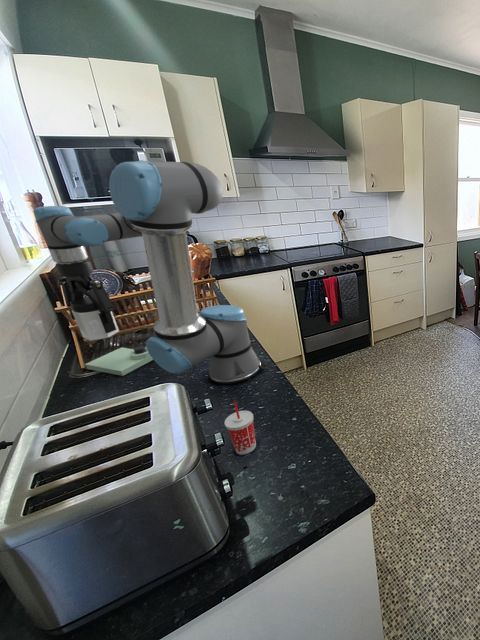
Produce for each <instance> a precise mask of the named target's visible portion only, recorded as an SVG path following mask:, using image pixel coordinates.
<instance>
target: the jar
mask: <svg viewBox="0 0 480 640" xmlns="http://www.w3.org/2000/svg"><path fill="white" fill-rule="evenodd" d="M70 305H71V307H70V308H71V309H72V310H71V313H72V315H73V318H74V320H75V321H76V325H77V327H78V329H79V331H80V334H81V336H82V338H84V339H85V340H87V341H97V340H102V339H103V340H104V339H108V338H111V337H112V336H114V335H116V334H117V333H119V332H120V329H119V327H118V324H117V321H116V319H115V316H114V312H113V311H111V315H112V318H113V322H114V324H115V327H116V330H114V331H112V332H110V333H106V332H105V329H104V327H103V324H102V322H101V319H100V317H99V315H98V314H99V313H100V312H99V310H98V309H97V308H96V306H95V305H94V303H92V301H91V300H90V299H89V297H88V296H85V297H84V296H83V298H80V299H77V300H74V301H72V302H70Z"/></svg>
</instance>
